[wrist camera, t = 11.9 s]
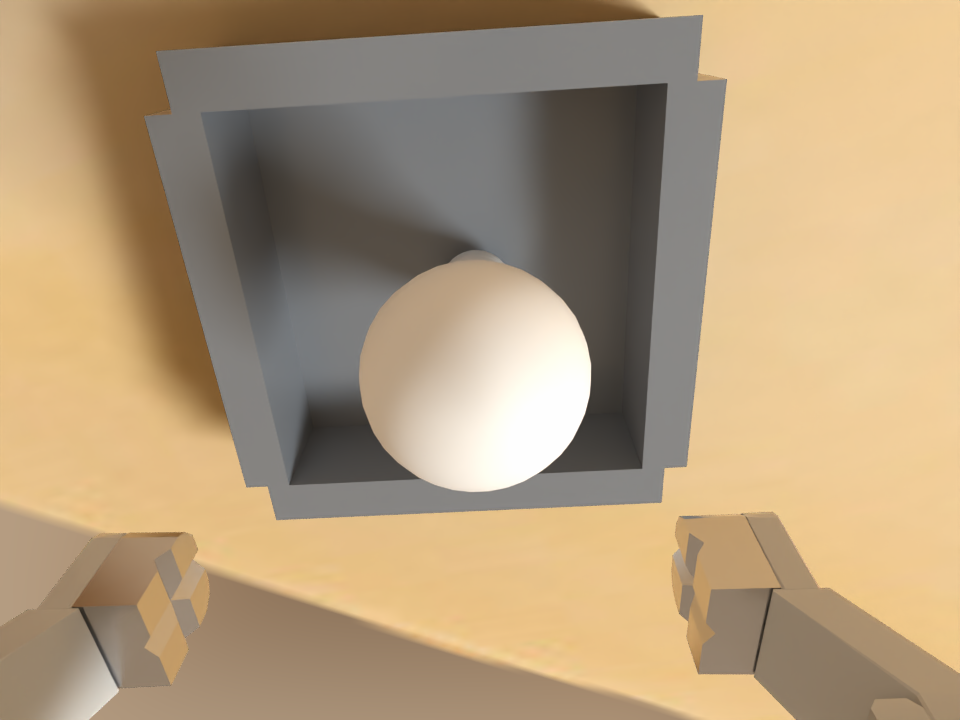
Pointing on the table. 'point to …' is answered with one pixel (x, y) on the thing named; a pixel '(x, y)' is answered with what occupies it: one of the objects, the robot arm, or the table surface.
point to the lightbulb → (475, 374)
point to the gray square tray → (444, 235)
